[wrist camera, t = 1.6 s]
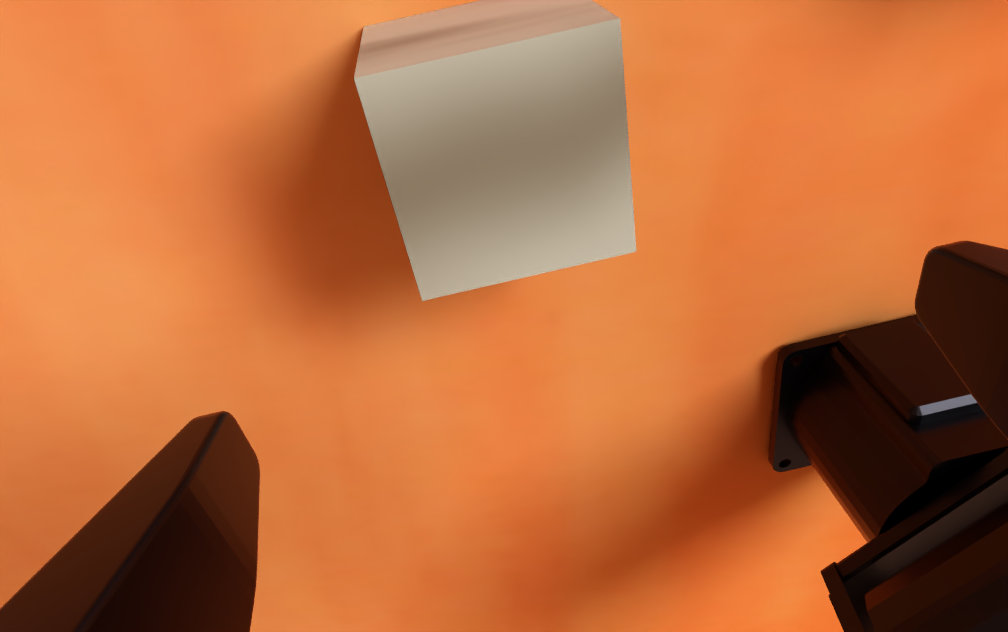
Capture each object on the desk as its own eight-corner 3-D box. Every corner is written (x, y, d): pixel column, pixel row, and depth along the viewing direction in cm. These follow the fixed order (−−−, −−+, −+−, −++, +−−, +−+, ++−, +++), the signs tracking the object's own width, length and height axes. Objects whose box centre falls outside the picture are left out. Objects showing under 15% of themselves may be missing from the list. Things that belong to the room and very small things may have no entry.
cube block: (583, 169, 19) (636, 251, 15) (415, 208, 19) (421, 301, 15) (561, -19, 16) (620, 18, 12) (363, 26, 16) (353, 78, 12)
